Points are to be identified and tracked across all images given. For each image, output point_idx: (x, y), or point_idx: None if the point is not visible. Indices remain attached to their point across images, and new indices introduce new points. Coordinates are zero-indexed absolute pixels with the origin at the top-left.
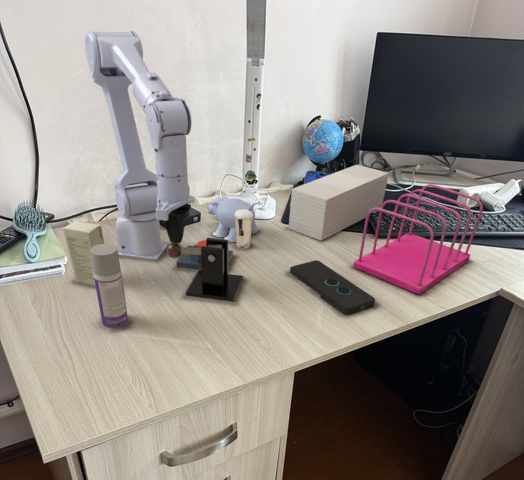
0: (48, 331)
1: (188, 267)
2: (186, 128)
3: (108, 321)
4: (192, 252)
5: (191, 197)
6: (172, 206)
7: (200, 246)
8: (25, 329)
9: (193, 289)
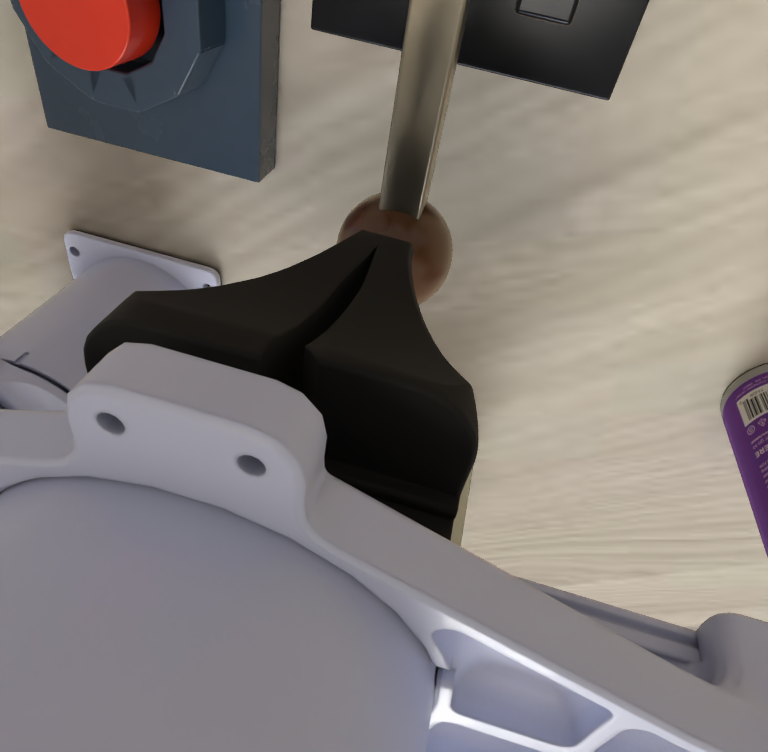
0: (756, 560)
1: (271, 103)
2: None
3: None
4: (445, 110)
5: (135, 444)
6: (660, 722)
7: (130, 40)
8: (720, 598)
9: (574, 46)
